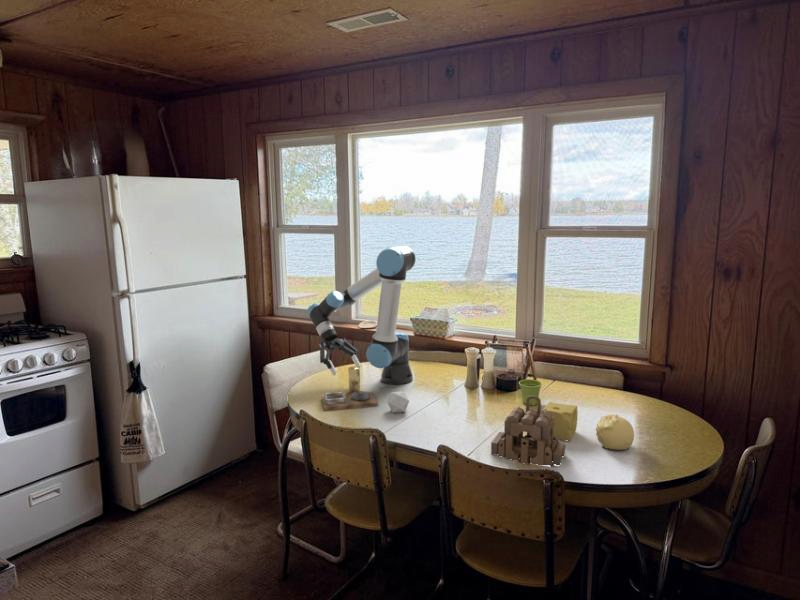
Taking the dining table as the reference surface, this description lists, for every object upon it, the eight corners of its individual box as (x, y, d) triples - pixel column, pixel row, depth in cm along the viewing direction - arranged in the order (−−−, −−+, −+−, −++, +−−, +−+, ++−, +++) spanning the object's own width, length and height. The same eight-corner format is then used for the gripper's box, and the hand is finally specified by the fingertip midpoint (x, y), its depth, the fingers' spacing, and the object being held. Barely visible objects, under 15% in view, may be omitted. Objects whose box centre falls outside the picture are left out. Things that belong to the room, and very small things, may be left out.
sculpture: (596, 437, 188) (597, 407, 187) (633, 442, 184) (634, 412, 182) (594, 450, 178) (595, 419, 176) (633, 456, 173) (635, 424, 172)
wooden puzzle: (489, 457, 175) (489, 403, 172) (501, 440, 188) (502, 389, 184) (558, 470, 165) (560, 413, 162) (566, 451, 178) (568, 398, 175)
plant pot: (527, 408, 216) (528, 387, 215) (513, 401, 225) (514, 381, 223) (546, 404, 220) (546, 384, 219) (531, 397, 228) (532, 378, 227)
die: (404, 418, 210) (414, 395, 213) (384, 408, 210) (395, 385, 212) (400, 417, 218) (410, 396, 221) (381, 408, 218) (392, 386, 220)
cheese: (569, 442, 184) (570, 414, 183) (539, 436, 190) (539, 409, 188) (577, 431, 193) (578, 405, 192) (547, 425, 199) (548, 400, 197)
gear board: (372, 394, 235) (372, 385, 235) (377, 405, 222) (377, 396, 221) (322, 399, 231) (321, 389, 230) (324, 410, 217) (324, 400, 217)
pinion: (359, 389, 243) (358, 366, 241) (360, 393, 238) (360, 369, 236) (348, 390, 242) (347, 366, 240) (349, 394, 237) (349, 370, 235)
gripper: (345, 333, 260) (365, 369, 251) (301, 342, 244) (321, 381, 235) (351, 324, 255) (372, 360, 247) (307, 332, 239) (327, 372, 230)
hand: (347, 370), depth 241 cm, fingers open, 13 cm apart
